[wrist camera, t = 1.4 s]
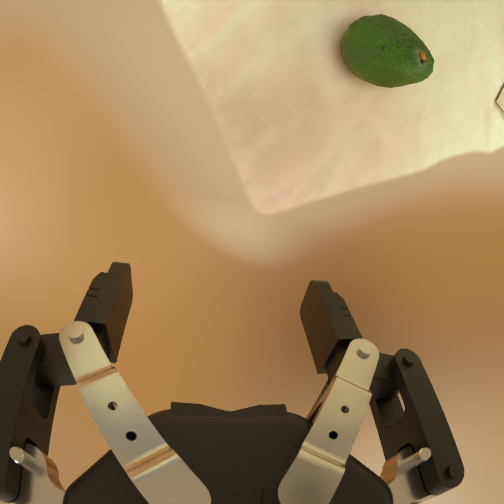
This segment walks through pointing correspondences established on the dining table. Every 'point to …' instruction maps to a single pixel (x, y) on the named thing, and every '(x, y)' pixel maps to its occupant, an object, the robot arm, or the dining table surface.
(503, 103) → the white rectangular block
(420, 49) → the avocado
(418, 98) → the dining table surface
